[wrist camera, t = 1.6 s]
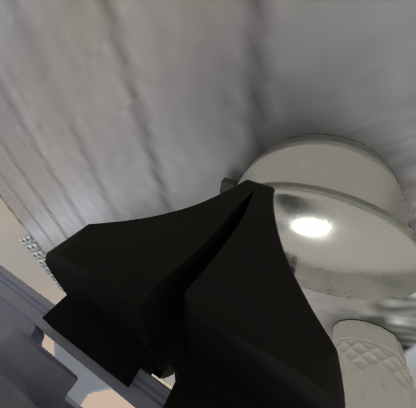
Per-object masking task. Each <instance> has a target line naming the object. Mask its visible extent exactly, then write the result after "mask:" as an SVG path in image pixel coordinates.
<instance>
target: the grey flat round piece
mask: <svg viewBox="0 0 416 408" xmlns="http://www.w3.org/2000/svg"><path fill="white" fill-rule="evenodd" d="M245 180H250V181H254V182H257V183H266V182H291V183H302V184H308V185H314V186H320V187H324V188H328V189H332V190H336V191H340V192H343V193H346V194H349V195H352V196H355V197H358V198H360V199H363V200H365V201H367V202H369V203H372V204H374V205H376V206H378V207H380V208H382V209H384V210H385V211H387V212H389V213H391V214H392V215H394V216H395V217H397V218H398V219H399V220H401V221H402V222H404V223H405V224H406V225H407V226H408V219H409V214H408V205H407V202H406V199H405V196H404V194H403V192H402V190H401V188H400V186H399V184H398V183H397V181H396V179H395V177H394V175H393V173H392V171H391V170H390V168H389V166H388V165H387V164H386V163H385V162H384V160H383V159H382V158H381V157H380V156H378V155H377V154H376V153H375V152H374V151H372V150H371V149H369V148H368V147H366V146H364V145H363V144H360V143H358V142H356V141H353V140H351V139H347V138H344V137H340V136H334V135H325V134H312V135H302V136H298V137H293V138H290V139H287V140H284V141H281V142H279V143H277V144H275V145H273V146H271V147H270V148H268V149H267V150H265V151H264V152H263V153H262V154H260V155H259V156H258V157H257V158H256V159H255V160H254V162H253V163H252V164H251V165H250V167H249V168H248V169H247V171H246V172H245V173H244V175H243V176H242V178H241V179H240V181H239V182H237V181H234V180H231V179H228V178H224V179H223V180H222V182H221V188H220V194H221V193H223V192H225V191H227V190H229V189H231V188H233V187H234V186H236V185H238V184H240V183H241V182H243V181H245Z"/></svg>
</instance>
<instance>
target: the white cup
mask: <svg viewBox="0 0 416 408" xmlns="http://www.w3.org/2000/svg"><path fill="white" fill-rule="evenodd" d="M333 344H334V346H335V347H336V349H337V352H338V357H339V362H340V367H341V373H342V380H343V386H344V394H345V408H416V390H415V388H414V384H413V380H412V377H411V374H410V371H409V369H408V367H407V364H406V360H405V357H404V353H403V350H402V346H401V343H400V342H399V341H398V339H397V338H396V337H395V336H394V334H392V333H390V332H389V331H387V330H385V329H384V328H382V327H380V326H377V325H375V324H372V323H369V322H365V321H358V320H344V321H339V322H338V323H337V324H335V325H334V326H333Z"/></svg>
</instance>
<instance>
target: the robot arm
mask: <svg viewBox="0 0 416 408" xmlns="http://www.w3.org/2000/svg"><path fill="white" fill-rule="evenodd" d="M274 192H275V190H274V188H273V187H270V186H267V185H264V184H260V183H257V182H254V181H250V180H245V181H243V182H241V183H240V184H238V185H236V186H234V187H233V188H231V189H229V190H227V191H225V192H223V193H221V194H219V195H218V196H215V197H213V198H211V199H209V200H207V201H204V202H202V203H200V204H197V205H194V206H191V207H188V208H185V209H182V210H178V211H174V212H170V213H166V214H162V215H158V216H153V217H148V218H142V219H136V220H129V221H121V222H110V223H99V224H89V225H87V226H86V227H84V228H83V229H81V230H80V231H78V232H77V233H76V234H74V235H73V236H71V237H70V238H68V239H67V240H65V241H64V242H63V243H61V244H60V245H58V246H57V247H55V248H54V249H52V250H51V251H49V252H48V253H47V255H46V260H45V261H46V264H47V266H48V268H49V270H50V271H51V273H52V274H53V276H54V277H55V278H56V280H57V281H58V283H59V284H60V285H61V287H62V288H63V290H64V291H65V293H66V294H67V296H66V297H64V298H63V299H62V300H61V301H60V302H59V303H58V304H56V305H54V304H53V303H51V302H50V301H49V300H47V299H46V298H45V297H43V296H42V295H41V294H39V293H37V291H35V290H34V289H32V288H31V287H30V286H28V285H27V284H26V283H24V282H23V281H21V280H20V279H19V278H17V277H16V276H14V275H13V274H12V273H11V272H9V271H8V270H6V269H5V268H4V267H2V266H1V265H0V408H82V407H81V406H80V405H81V403H82V402H83V401H84V399H85V398H86V397H87V395H88V394H90V393H93V392H98V391H103V390H109V389H113V390H114V391H116V392H117V393H118V394H119V395H120V396H122V397H123V398H124V399H125V400H127V401H128V402H129V403H130V404H132V405H133V406H134V407H135V408H345V394H344V386H343V380H342V373H341V367H340V362H339V357H338V352H337V349H336V347H335V346H334V344H333V342H332V341H331V339H330V338H329V336H328V335H327V333H326V331H325V330H324V328H323V327H322V325H321V323H320V322H319V320H318V319H317V317H316V315H315V313H314V312H313V310H312V308H311V306H310V305H309V303H308V301H307V299H306V297H305V295H304V294H303V292H302V290H301V288H300V286H299V284H298V282H297V279H296V277H295V275H294V273H293V271H292V269H291V267H290V265H289V262H288V260H287V257H286V254H285V252H284V249H283V246H282V243H281V240H280V236H279V233H278V228H277V224H276V219H275V212H274ZM44 333H45V334H46V335H47V336H48V337H49V338H51V339H52V340H53V341H54V352H55V357H54V356H53V355H52V354H50V353H49V352H48V351H47V350H45V349H44V348H43V347H42V341H43V339H44ZM174 372H175V383H174V386H173V388H172V390H170V389H169V388H168V387H166V386H165V385H164V384H162V383H161V382H160V381H158V380H157V379H156V378H154V377H153V376H151V375H152V373H153V374H154V375H156V376H157V377H158V378H162V379H163V378H166V377H169V376H171V375H173V374H174Z"/></svg>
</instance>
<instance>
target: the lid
mask: <svg viewBox="0 0 416 408" xmlns="http://www.w3.org/2000/svg"><path fill="white" fill-rule="evenodd" d="M260 184H264V185H267V186H270V187H273V188H274V190H275V192H274V212H275V219H276V224H277V228H278V233H279V236H280V240H281V243H282V246H283V249H284V252H285V254H286V257H287V260H288V262H289V265H290V267H291V269H292V271H293V273H294V275H295V277H296V279H297V282H298V284H299V286H300V287H303V288H306V289H309V290H313V291H316V292H320V293H324V294H328V295H333V296H338V297H344V298H351V299H360V300H391V299H398V298H403V297H406V296H409V295H412V294H414V293H416V234H415V233H414V232H413V231H412V230H411V229H410V228H409V227H408V226H407V225H406V224H405V223H404V222H402V221H401V220H399V219H398V218H397V217H395V216H394V215H392V214H391V213H389V212H387V211H385V210H384V209H382V208H380V207H378V206H376V205H374V204H372V203H369V202H367V201H365V200H363V199H360V198H358V197H355V196H352V195H349V194H346V193H343V192H340V191H336V190H332V189H328V188H324V187H320V186H314V185H308V184H302V183H291V182H266V183H260Z"/></svg>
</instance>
